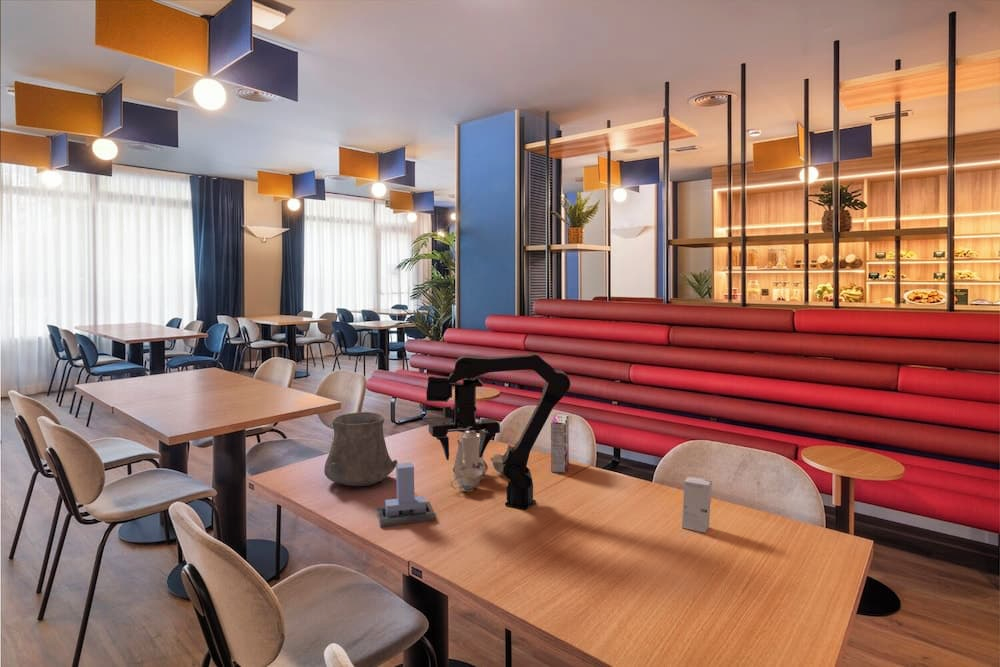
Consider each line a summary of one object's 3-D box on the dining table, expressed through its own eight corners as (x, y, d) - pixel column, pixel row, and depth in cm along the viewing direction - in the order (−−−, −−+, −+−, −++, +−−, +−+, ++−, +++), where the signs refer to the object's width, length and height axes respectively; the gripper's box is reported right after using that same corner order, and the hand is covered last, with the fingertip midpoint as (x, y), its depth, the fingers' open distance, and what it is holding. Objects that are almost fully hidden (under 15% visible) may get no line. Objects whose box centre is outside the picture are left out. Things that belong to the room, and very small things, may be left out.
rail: (429, 508, 160) (429, 501, 159) (435, 520, 152) (434, 513, 152) (377, 515, 156) (377, 507, 155) (380, 527, 148) (380, 519, 148)
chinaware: (473, 504, 167) (478, 448, 165) (427, 487, 176) (431, 433, 173) (522, 476, 191) (527, 426, 189) (479, 462, 200) (483, 414, 197)
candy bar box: (554, 461, 200) (554, 414, 199) (568, 462, 199) (569, 414, 198) (550, 472, 189) (550, 422, 188) (565, 473, 188) (566, 422, 187)
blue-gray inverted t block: (423, 512, 157) (422, 460, 156) (426, 518, 153) (425, 465, 152) (385, 516, 154) (384, 464, 153) (387, 523, 150) (386, 469, 149)
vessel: (383, 497, 168) (382, 428, 166) (311, 492, 172) (309, 424, 170) (408, 472, 190) (408, 410, 188) (344, 468, 193) (342, 408, 192)
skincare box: (681, 528, 147) (682, 481, 146) (685, 521, 151) (686, 475, 150) (707, 533, 144) (708, 485, 143) (710, 526, 148) (712, 479, 147)
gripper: (488, 394, 171) (487, 447, 172) (424, 397, 164) (423, 452, 166) (501, 402, 160) (499, 459, 162) (433, 406, 154) (432, 464, 155)
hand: (463, 458), depth 161 cm, fingers open, 9 cm apart
